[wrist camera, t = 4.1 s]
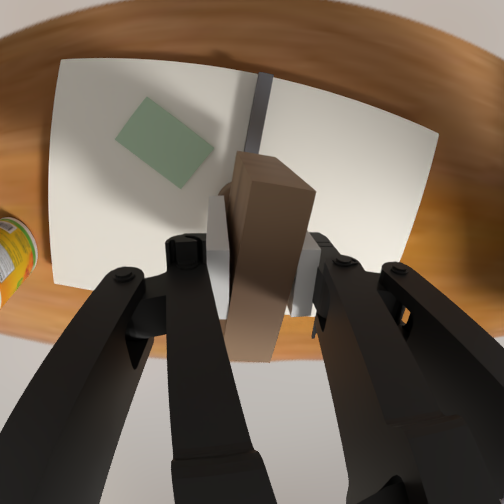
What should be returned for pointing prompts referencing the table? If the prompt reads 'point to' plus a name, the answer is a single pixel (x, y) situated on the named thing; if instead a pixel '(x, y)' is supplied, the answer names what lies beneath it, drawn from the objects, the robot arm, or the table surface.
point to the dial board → (215, 162)
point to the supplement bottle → (15, 256)
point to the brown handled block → (261, 239)
